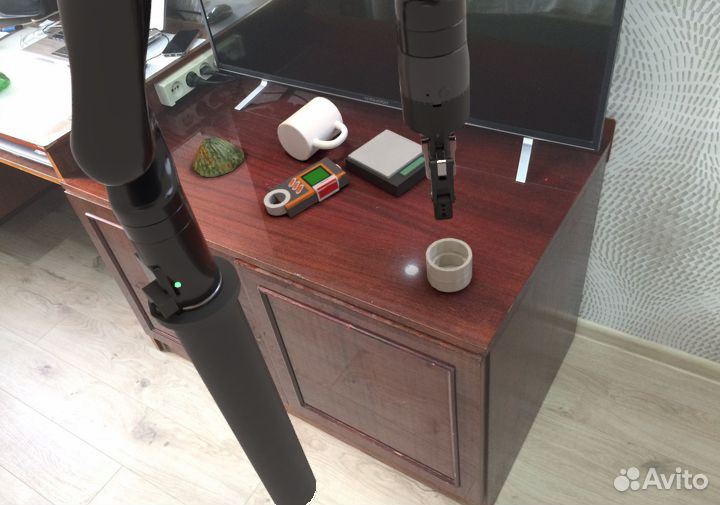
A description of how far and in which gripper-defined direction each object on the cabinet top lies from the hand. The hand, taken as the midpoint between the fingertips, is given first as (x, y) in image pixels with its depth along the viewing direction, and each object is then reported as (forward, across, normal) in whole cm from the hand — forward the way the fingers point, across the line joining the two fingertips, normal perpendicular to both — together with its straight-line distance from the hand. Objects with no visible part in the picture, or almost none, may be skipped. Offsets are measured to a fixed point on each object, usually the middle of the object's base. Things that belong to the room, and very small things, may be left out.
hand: (440, 195), depth 75 cm
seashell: (+16, -35, -41) cm, 56 cm away
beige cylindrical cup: (+16, 0, +1) cm, 16 cm away
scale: (+16, -28, -7) cm, 33 cm away
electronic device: (+16, -22, -23) cm, 36 cm away
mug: (+16, -36, -21) cm, 44 cm away
